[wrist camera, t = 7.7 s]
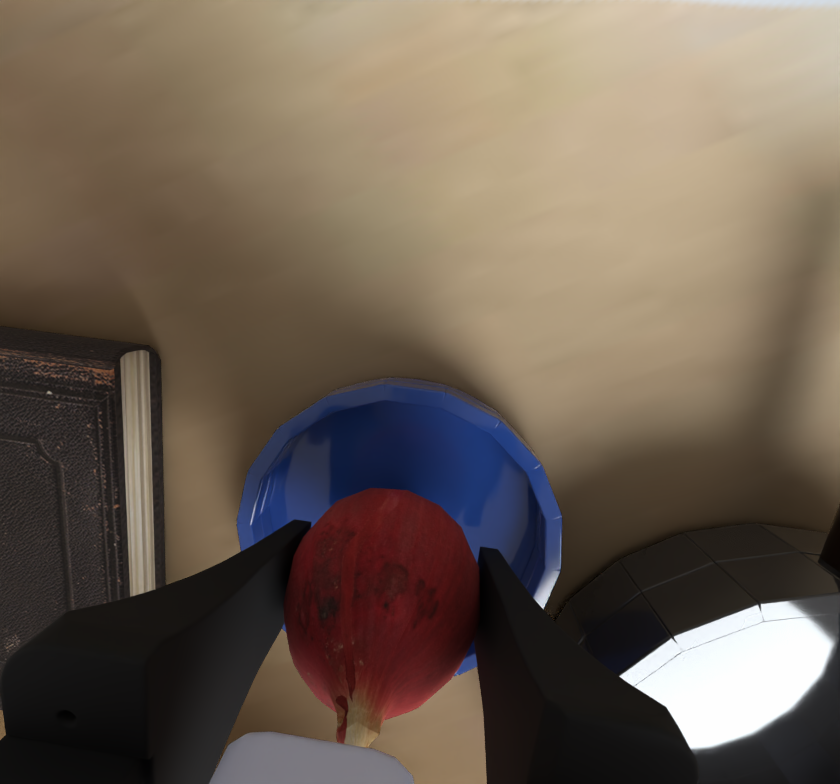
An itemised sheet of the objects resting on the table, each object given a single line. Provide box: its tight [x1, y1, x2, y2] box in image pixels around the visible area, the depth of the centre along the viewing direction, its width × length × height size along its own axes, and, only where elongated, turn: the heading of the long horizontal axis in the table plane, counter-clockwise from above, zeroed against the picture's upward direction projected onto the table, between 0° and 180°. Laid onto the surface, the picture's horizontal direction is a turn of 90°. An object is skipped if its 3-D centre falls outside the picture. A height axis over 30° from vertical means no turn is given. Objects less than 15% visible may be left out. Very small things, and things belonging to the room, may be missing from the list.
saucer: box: [237, 377, 562, 676], centre depth 15 cm, size 12×12×2 cm
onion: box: [283, 488, 480, 748], centre depth 12 cm, size 6×6×8 cm
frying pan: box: [555, 523, 840, 784], centre depth 14 cm, size 16×16×4 cm
